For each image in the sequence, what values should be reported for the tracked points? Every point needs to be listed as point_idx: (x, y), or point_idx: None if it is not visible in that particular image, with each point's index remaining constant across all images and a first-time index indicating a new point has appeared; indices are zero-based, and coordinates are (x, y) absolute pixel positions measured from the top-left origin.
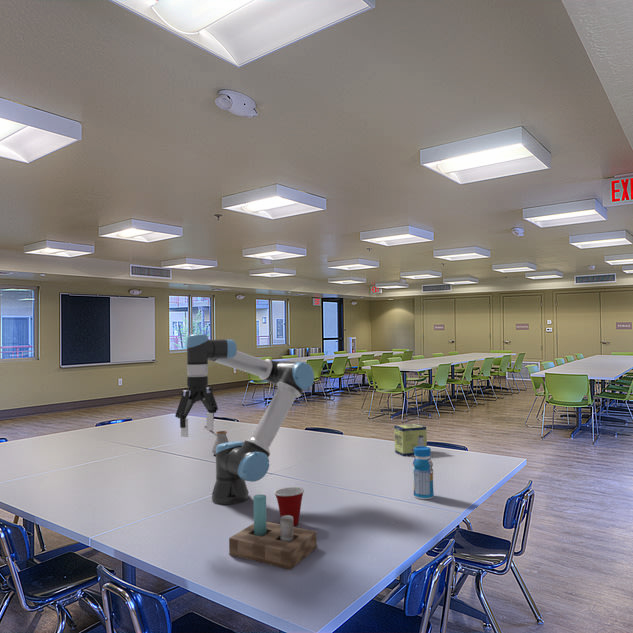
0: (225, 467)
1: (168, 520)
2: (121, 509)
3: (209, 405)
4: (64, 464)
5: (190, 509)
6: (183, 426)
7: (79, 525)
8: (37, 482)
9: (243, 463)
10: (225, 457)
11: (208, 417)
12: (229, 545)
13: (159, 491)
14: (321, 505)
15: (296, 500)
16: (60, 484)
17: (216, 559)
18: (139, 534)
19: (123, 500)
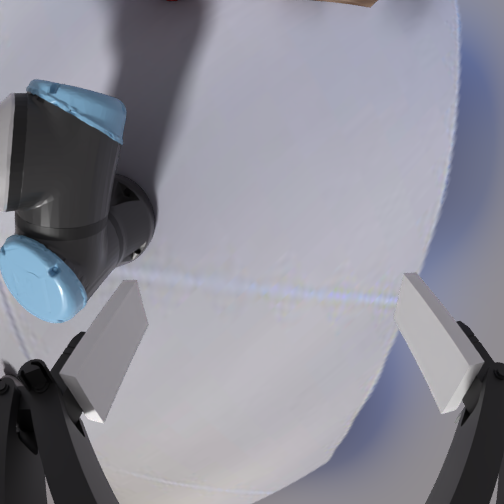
0: (106, 228)
1: (295, 242)
2: (289, 361)
3: (73, 466)
4: (196, 492)
5: (217, 248)
6: (464, 328)
7: (373, 355)
8: (258, 481)
9: (107, 112)
10: (87, 244)
11: (109, 378)
12: (375, 1)
13: (180, 371)
14: (59, 18)
15: None
16: (249, 468)
17: (395, 20)
18: (378, 237)
19: (252, 387)
